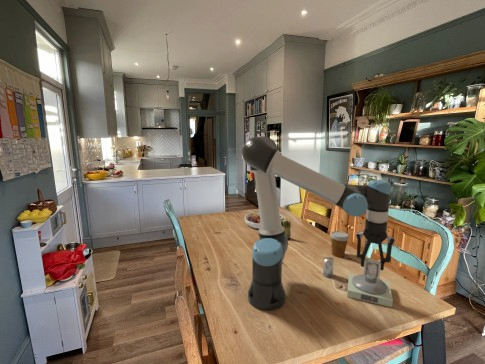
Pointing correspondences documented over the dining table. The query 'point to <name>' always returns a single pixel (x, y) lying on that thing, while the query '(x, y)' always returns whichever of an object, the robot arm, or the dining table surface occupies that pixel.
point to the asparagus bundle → (286, 228)
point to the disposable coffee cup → (339, 243)
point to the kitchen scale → (369, 290)
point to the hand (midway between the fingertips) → (371, 275)
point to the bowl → (257, 220)
